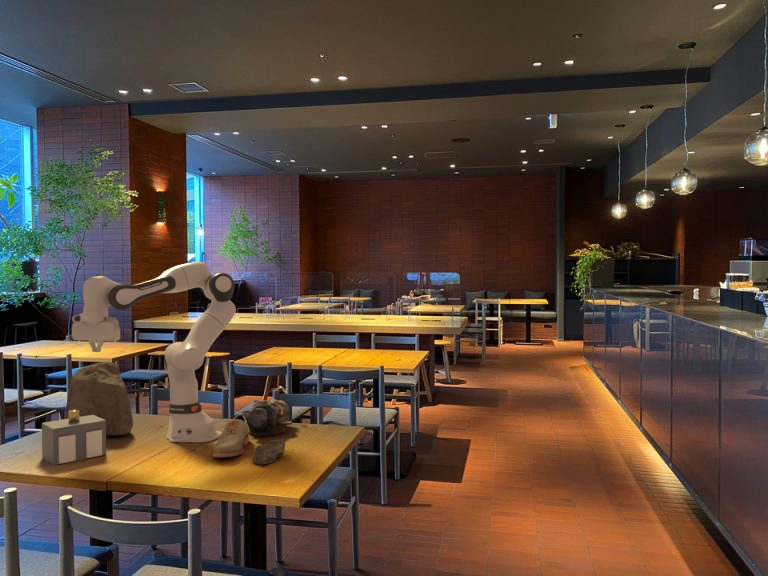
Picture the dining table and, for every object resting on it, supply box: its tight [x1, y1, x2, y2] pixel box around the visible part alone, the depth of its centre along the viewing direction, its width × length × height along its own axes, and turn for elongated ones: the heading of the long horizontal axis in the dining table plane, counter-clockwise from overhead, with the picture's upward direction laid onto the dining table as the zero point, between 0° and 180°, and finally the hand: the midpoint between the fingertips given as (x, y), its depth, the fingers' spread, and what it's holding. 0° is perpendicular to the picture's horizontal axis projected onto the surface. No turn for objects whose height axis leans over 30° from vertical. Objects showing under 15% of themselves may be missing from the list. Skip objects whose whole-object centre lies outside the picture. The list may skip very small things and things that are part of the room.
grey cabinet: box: [41, 415, 107, 466], centre depth 222 cm, size 13×18×13 cm
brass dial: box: [68, 410, 79, 423], centre depth 222 cm, size 4×4×4 cm
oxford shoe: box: [212, 414, 250, 458], centre depth 228 cm, size 11×32×12 cm, turn 5°
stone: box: [64, 361, 134, 437], centre depth 260 cm, size 25×34×30 cm
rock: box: [251, 437, 286, 465], centre depth 217 cm, size 17×7×10 cm
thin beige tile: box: [58, 434, 77, 465], centre depth 218 cm, size 12×5×9 cm, turn 45°
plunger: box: [85, 430, 103, 459], centre depth 225 cm, size 12×5×9 cm, turn 45°
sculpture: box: [240, 398, 293, 438], centre depth 255 cm, size 25×21×14 cm
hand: (96, 351), depth 237 cm, fingers closed
